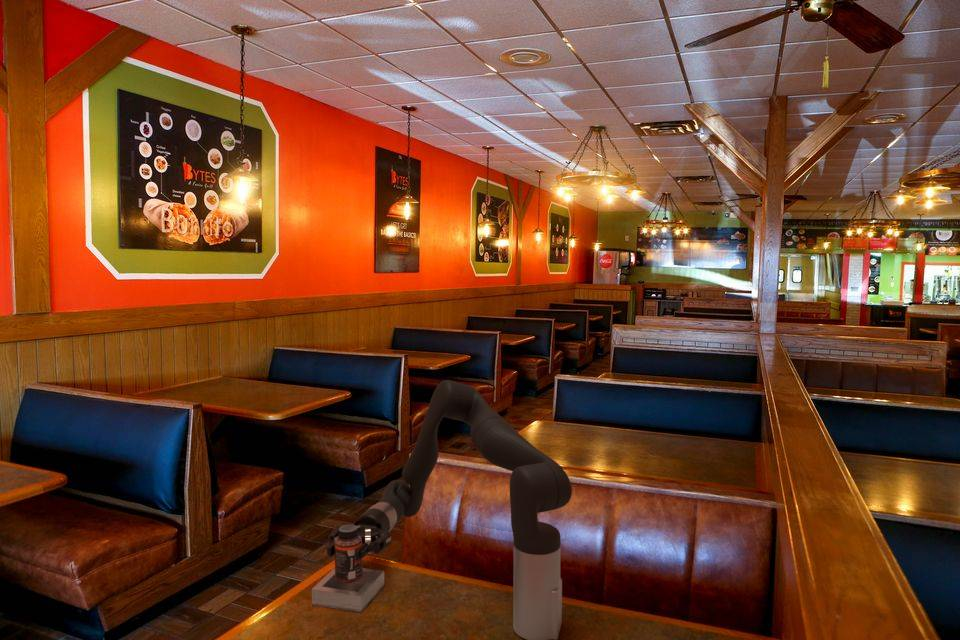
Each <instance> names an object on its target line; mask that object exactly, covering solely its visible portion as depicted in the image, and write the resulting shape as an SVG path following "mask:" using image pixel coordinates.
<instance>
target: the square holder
mask: <svg viewBox="0 0 960 640" xmlns="http://www.w3.org/2000/svg"><path fill="white" fill-rule="evenodd" d="M384 587H385V571H384V570H380V569H379V570H378V569H373V568H365V567H363V575H362V577H361V578H360V579H359V580H358V581H356V582H353V583H342V582H339V581H337V580H336V577H335V567H334V568H332V570H330V571H329V572H328V573H327V574H326V575H325V576H324V577H323V578H322V579H321V580H319V582H318V583H316V585H314V586H313V587H312V588H311V604H312V606H317V607H324V608H330V609H335V610H337V609H338V610H344V611H349V612H356V613H363V611H364V610H365V609H366V608H367V606H368V605H370V603H371V602H372V601H373V600H374V599H375V597H376V596H377V595H378V594H379V593H380V592H381V591H382V589H383V588H384Z"/></svg>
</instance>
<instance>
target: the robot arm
mask: <svg viewBox="0 0 960 640" xmlns="http://www.w3.org/2000/svg"><path fill="white" fill-rule="evenodd" d="M443 418H446V419H451V420H455V421H460V422H463V423H465V424H467V426H469V427H470V440H471V443H472V444H473V447H474V448H475V449H476V451H477V452H479V454H480V455H481V456H482V457H483V458H484V460H486V461H487V462H488V463H491V464H493V465H494V466H496V467H499V468H501V469H503V470H507V471H510V472H511V474H510V479H509V504H510V522H511V523H510V525H511V531H512V536H513V569H512V570H513V571H512V572H513V577H512V578H513V585H512V586H513V589H512V590H513V592H512V593H513V595H512V596H513V600H512V601H513V602H512V603H513V604H512V606H513V608H512V609H513V610H512V611H513V614H512V618H513V619H512V624H513V625H512V626H513V631H514V633H515V634H517V636H519V637H520V638H523V639H525V640H558V639H559V634H560V631H561V627H562V623H563V621H562V618H563V617H562V615H563V613H562V611H563V609H562V608H563V607H562V606H563V604H562V602H563V579H562V578H561V540H562V539H561V533H560V531H559V529H558V528H556V527H555V526H554V525H551V524H549V523H547V522H543V521H539V520H538V514H539V513H545V512H549V511H554V510H558V509H561V508H563V507H565V506H566V505H567V504H568V503H569V502H570V500H571V499H572V496H573V488H572V483H571V480H570V478H569V476H568V474H567V472H566V470H565V469H564V468H563V467H562V466H561V464H559V463H558V462H557V461H555V460H554V459H552V458H551V457H549V456H548V455H547V454H545V453H544V452H542V451H541V450H540V449H538V448H536V446H534V445H532V443H530V442H529V441H528V440H527V439H526V438H525V437H523V436H522V434H520V433H519V432H518V431H517V430H516V428H514V427H513V426H512V424H510V423H509V422H508V420H505V419H504V418H503V417H502V416H501V415H500V414H498V412H497V411H496V410H494V409H493V408H492V407H491V406H490V405H489V404H488V402H487V401H486V400H485V398H484V397H483V396H482V394H481V393H480V392H479V391H478V390H477V389H476V388H475V387H474V386H473V385H468V384H464V383H461V382H458V381H454V380H450V379H444V380H442V381H441V382H440V383H438V384H437V386H436V387H435V390H434V391H433V394H432V396H431V399H430V402H429V404H428V407H427V410H426V413H425V416H424V419H423V420H422V424H421V425H422V426H421V428H420V432H419V435H418V436H417V440H416V442H415V445H414V447H413V449H412V450H411V453H410V455H409V457H408V459H407V460H406V463H405V464H404V466H403V468H402V471H401V476H402V478H403V479H404V480H405V482H406V483H405V482H404V481H402V480H400V479H394V480H392V481H390V482H389V483H388V484H387V485H386V487H385V489H384V491H383V494H382V497H381V499H379V501H377V502H376V503H375V504H373V505H371V506H370V507H369V508H368V509H366V511H364V512H363V513H362V514H361V515H360V516H359V517H358V518H356V520H355V522H354V523H353V525H355V526H357V531H358V533H357V534H358V535H360V536H361V538H362V545H361V546H360V547H359V548H358V549H357V550H356V552H355V559H356V560H360V559H361V558H362V559H363V558H365V557H366V556H367V555H369V554H372V552H373V553H374V554H380V553H381V552H383V550H385V549H386V548H388V547H389V546H390V545H391V544H392V532H391V531H392V530H393V528H394V527H395V526H396V525H397V523H398V522H399V521H400V520H402V518H403V517H406V518H411V517H414V516H416V515H417V514H418V512H419V511H420V509H421V507H422V504H423V500H424V494H425V489H426V486H427V482H428V480H429V478H430V476H431V474H432V472H433V470H434V469H435V467H436V465H437V462H438V458H439V454H440V453H439V440H438V427H439V425H440V424H441V421H442V420H443ZM340 527H341V525H338V526H336V527H335V528H334V529H333V530H332V531H331V533H330V534H329V535H328V545H327V547H326V554H327V557H331V558H332V557H333V556H335V539H336V538H337V537H338V536H339V528H340Z"/></svg>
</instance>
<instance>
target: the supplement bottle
mask: <svg viewBox="0 0 960 640" xmlns="http://www.w3.org/2000/svg"><path fill="white" fill-rule="evenodd" d="M340 526H341V525H340ZM357 533H358V531H357V526H355V525H354V524H344V525H342V526H341V527H340V528H339V536H338V537H337V538H336V539H335V554H334V568H335V577H336V580H337V581H339V582H342V583H353V582H356V581H358V580H359V579H360V578H361V577H362V575H363V568H364V566H363V564H364V563H363V558H361V559H360V560H356V559H355V552H356V550H357V549H358V548H359V547H360V546H361V545H362V538H361V536H360V535H358V534H357Z"/></svg>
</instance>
